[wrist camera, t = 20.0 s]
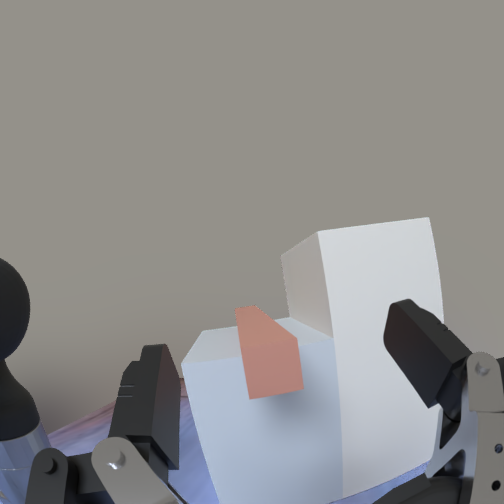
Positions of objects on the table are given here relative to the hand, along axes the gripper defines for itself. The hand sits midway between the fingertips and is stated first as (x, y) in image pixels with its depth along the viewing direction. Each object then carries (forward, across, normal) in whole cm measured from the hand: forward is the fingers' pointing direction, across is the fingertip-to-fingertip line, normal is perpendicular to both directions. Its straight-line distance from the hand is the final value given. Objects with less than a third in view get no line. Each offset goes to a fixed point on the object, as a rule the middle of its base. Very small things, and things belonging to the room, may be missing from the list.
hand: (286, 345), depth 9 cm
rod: (+14, 0, +13) cm, 19 cm away
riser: (+9, -7, +35) cm, 37 cm away
